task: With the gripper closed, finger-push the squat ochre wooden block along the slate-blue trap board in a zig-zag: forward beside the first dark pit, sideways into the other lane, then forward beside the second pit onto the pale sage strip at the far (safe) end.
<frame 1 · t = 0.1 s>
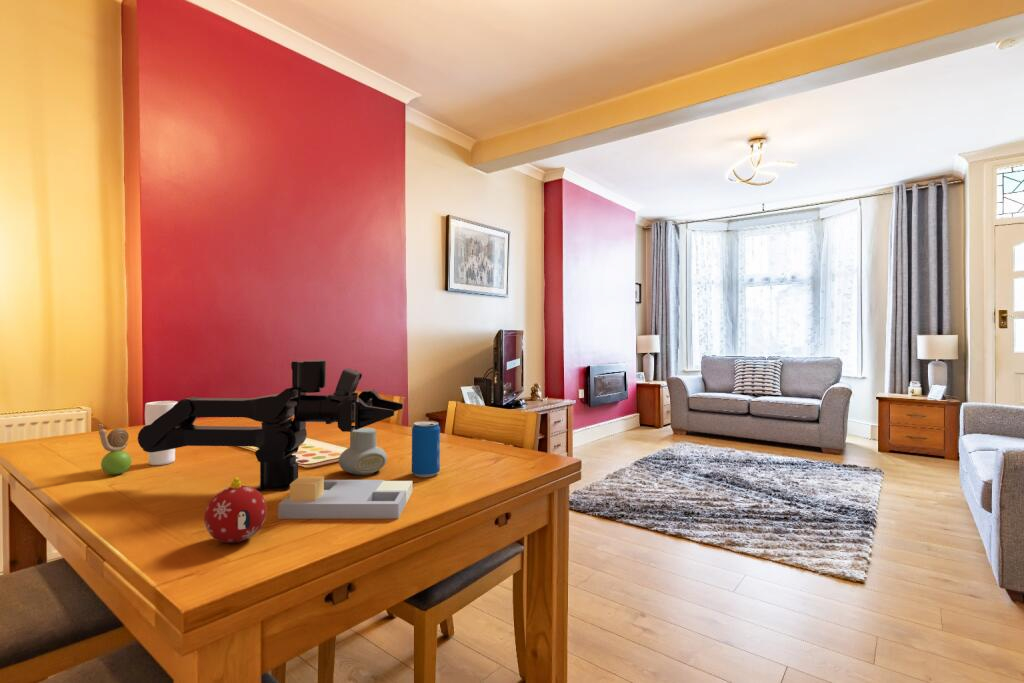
hand: (398, 409, 106), 17 cm above the table, tool horizontal, fingers open, 9 cm apart
beverage can: (425, 475, 116), on the table
ochre block: (307, 496, 92), point 3 cm above the table, touching trap board
trap board: (350, 503, 95), on the table
snail figurine: (114, 475, 112), on the table
christmas ornament: (236, 541, 78), on the table
air freshener: (363, 472, 117), on the table
drinking glass: (162, 464, 123), on the table
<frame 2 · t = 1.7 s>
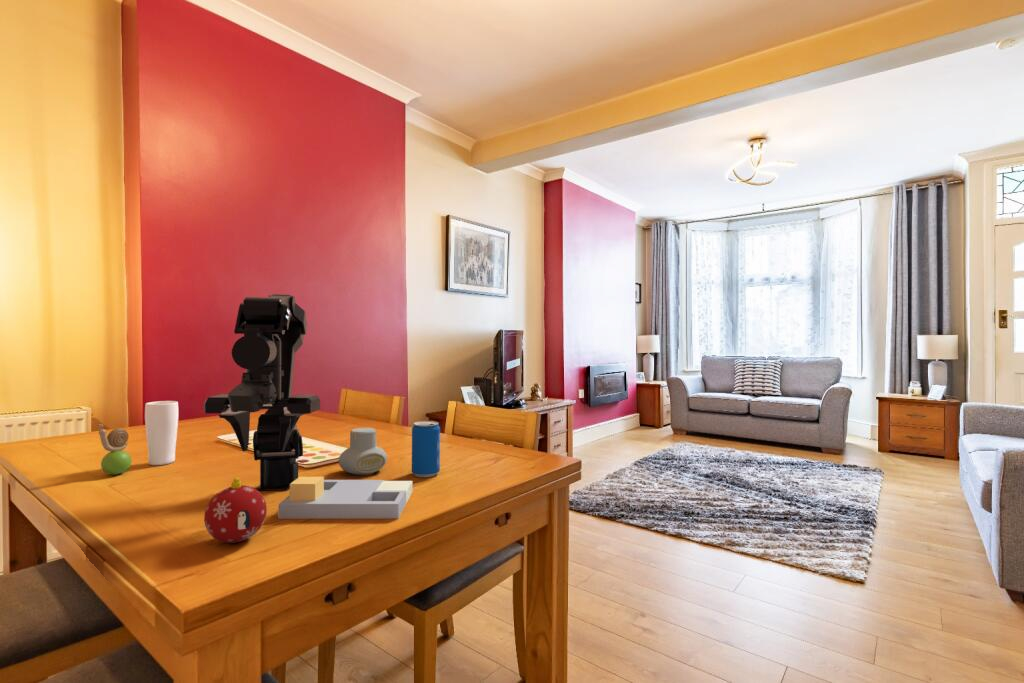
hand: (263, 450, 91), 11 cm above the table, tool pointing down, fingers open, 6 cm apart
nothing on the table moved.
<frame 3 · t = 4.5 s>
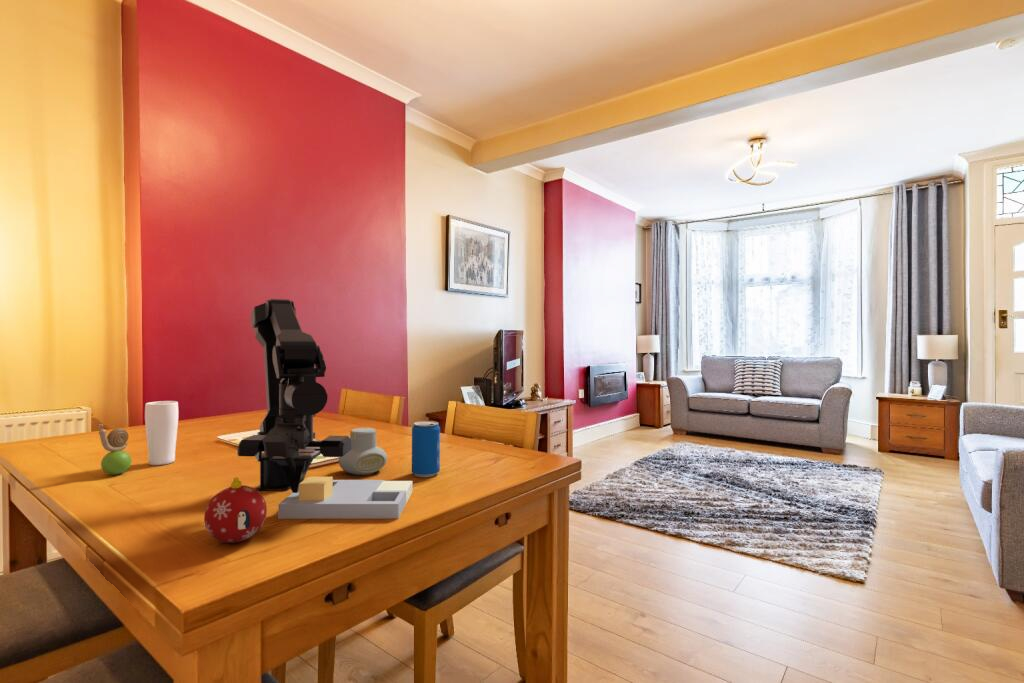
hand: (295, 492, 91), 3 cm above the table, tool pointing down, fingers closed
ochre block: (316, 496, 92), point 3 cm above the table, touching gripper
everything else where it was.
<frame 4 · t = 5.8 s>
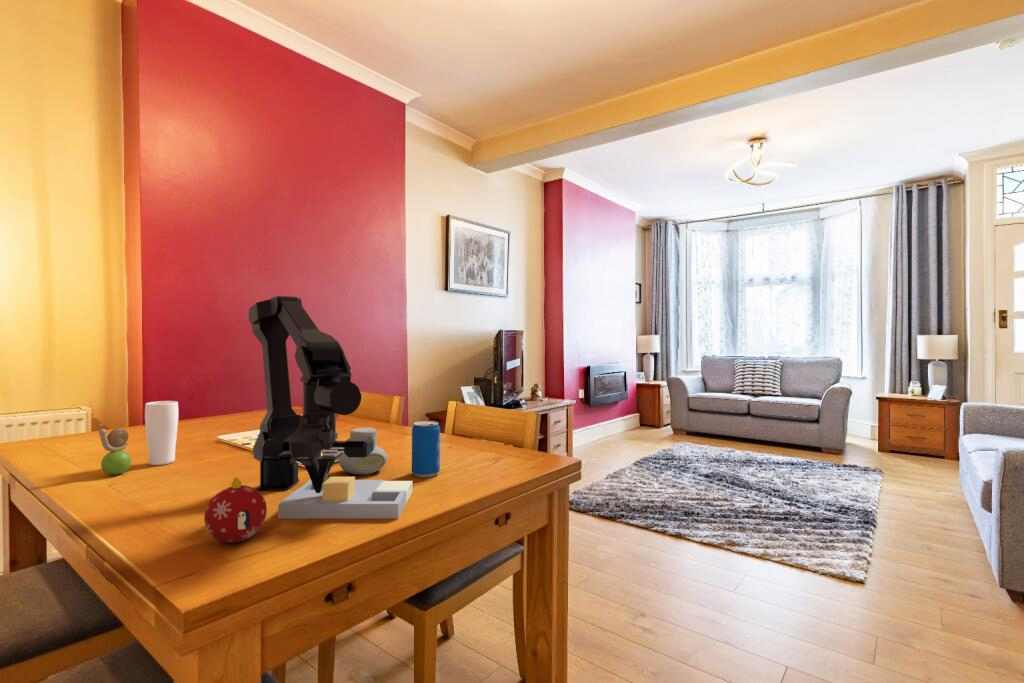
hand: (318, 492, 92), 3 cm above the table, tool pointing down, fingers closed
ochre block: (339, 496, 92), point 3 cm above the table, touching gripper, trap board
everything else where it was.
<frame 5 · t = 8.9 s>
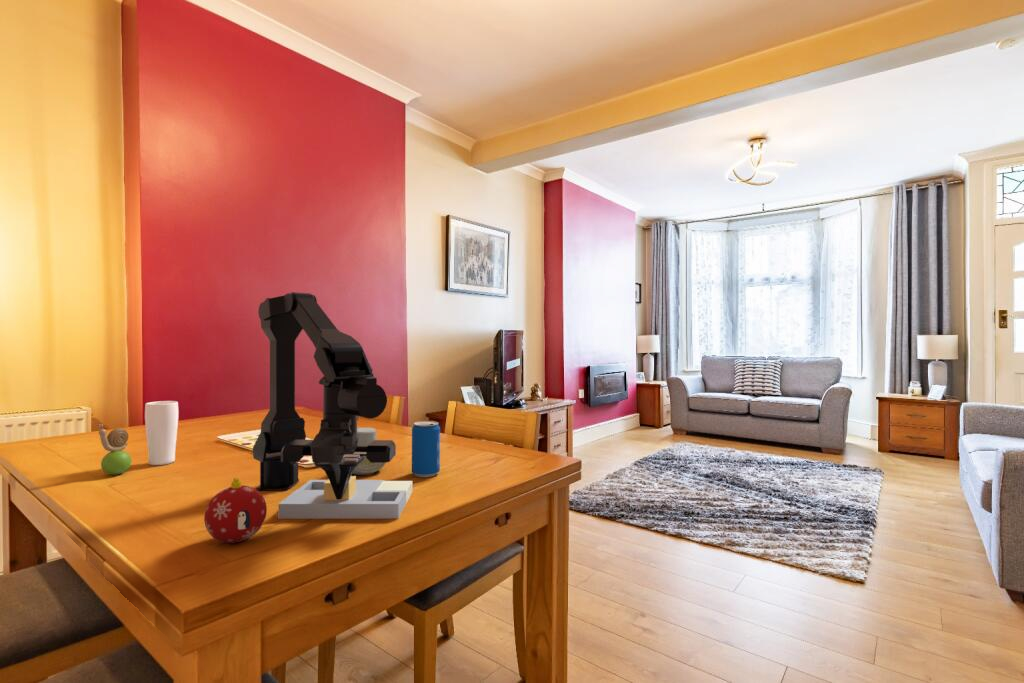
hand: (339, 498, 89), 3 cm above the table, tool pointing down, fingers closed, pressing on ochre block
ochre block: (340, 495, 92), point 3 cm above the table, touching gripper
everything else where it was.
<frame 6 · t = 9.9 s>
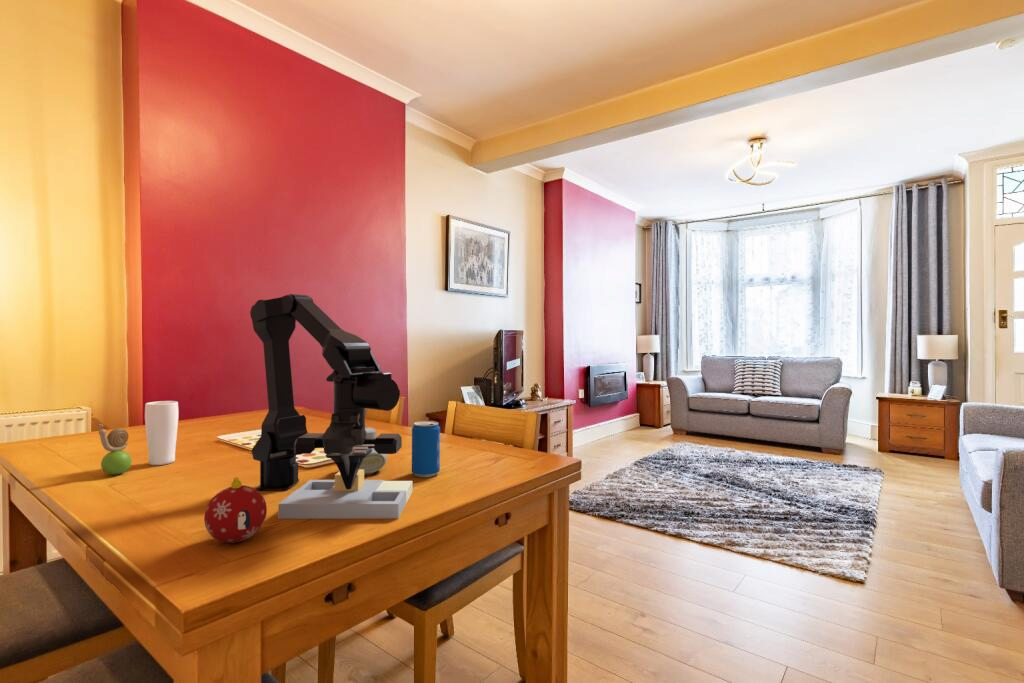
hand: (349, 488, 94), 3 cm above the table, tool pointing down, fingers closed, pressing on ochre block
ochre block: (349, 487, 97), point 3 cm above the table, touching gripper, trap board
everything else where it was.
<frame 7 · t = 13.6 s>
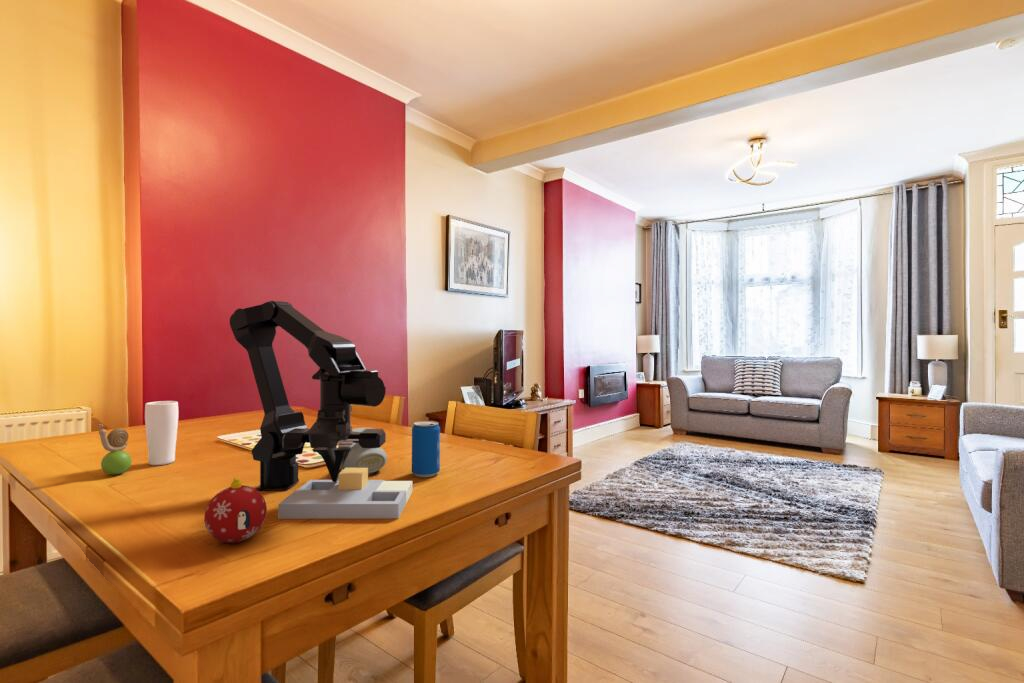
hand: (335, 481, 99), 3 cm above the table, tool pointing down, fingers closed
ochre block: (353, 485, 99), point 2 cm above the table, touching gripper
everything else where it was.
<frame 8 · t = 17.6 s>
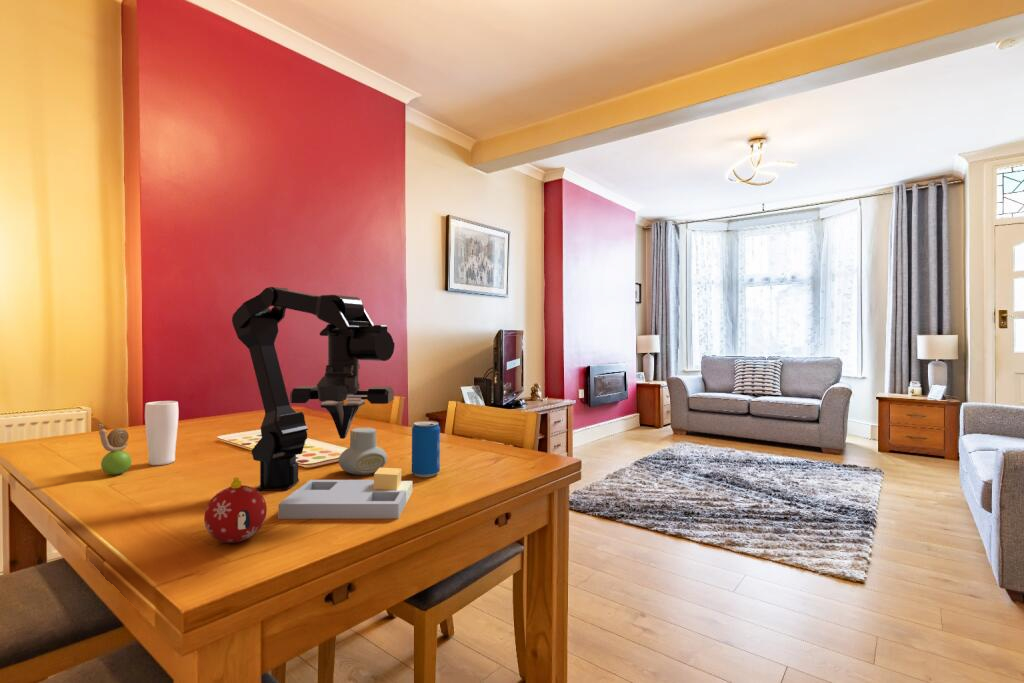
hand: (343, 438, 98), 12 cm above the table, tool pointing down, fingers closed
ochre block: (387, 485, 99), point 2 cm above the table, touching trap board
everything else where it was.
at the end: ochre block 1.9 cm from the target spot on the trap board, point 2.3 cm above the trap board's base; ochre block tilted 3° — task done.
